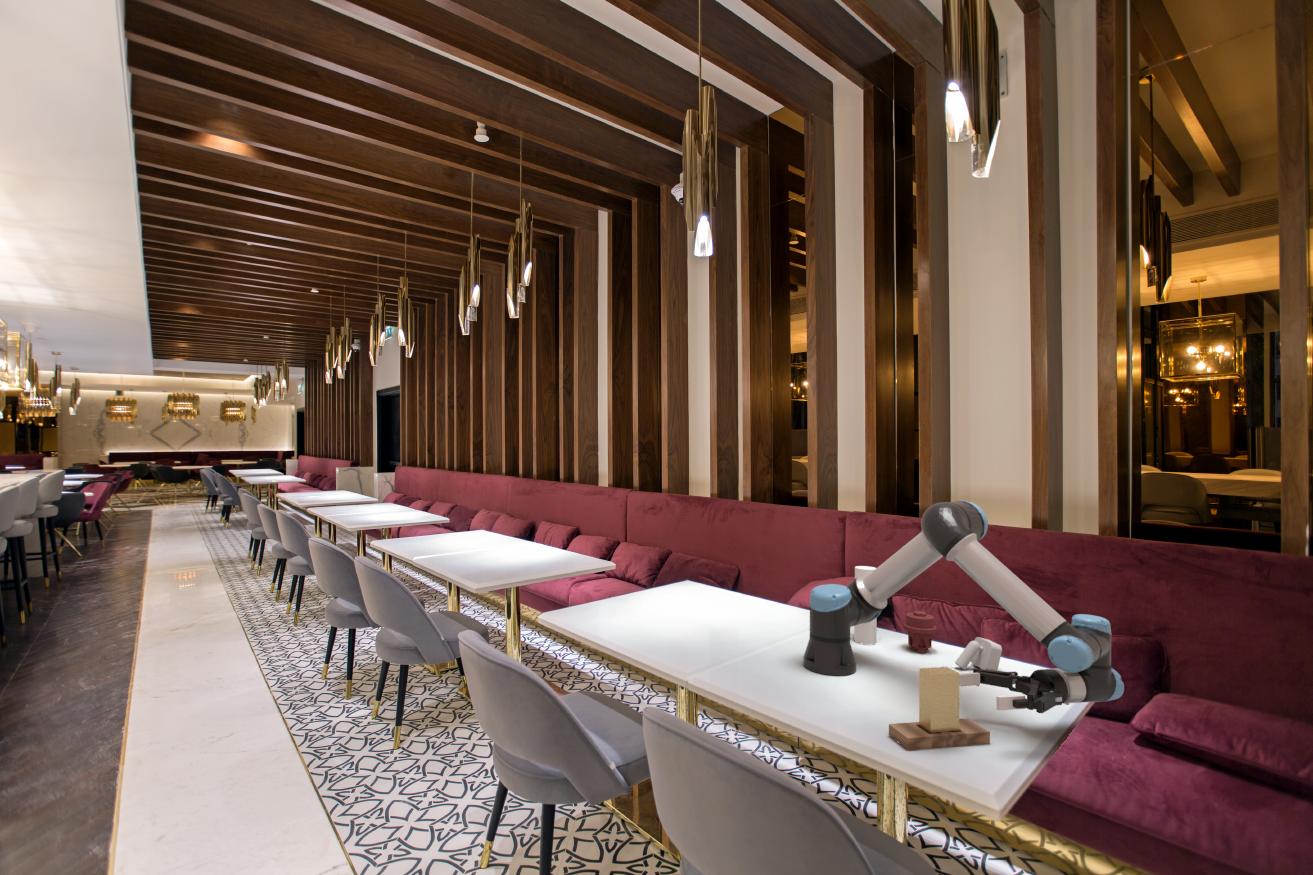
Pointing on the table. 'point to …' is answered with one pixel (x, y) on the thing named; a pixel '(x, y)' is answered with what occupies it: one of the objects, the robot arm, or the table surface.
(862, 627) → the cylindrical container
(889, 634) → the table surface
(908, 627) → the mechanical component
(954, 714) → the tall wooden block
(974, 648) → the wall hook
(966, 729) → the slotted wooden base
